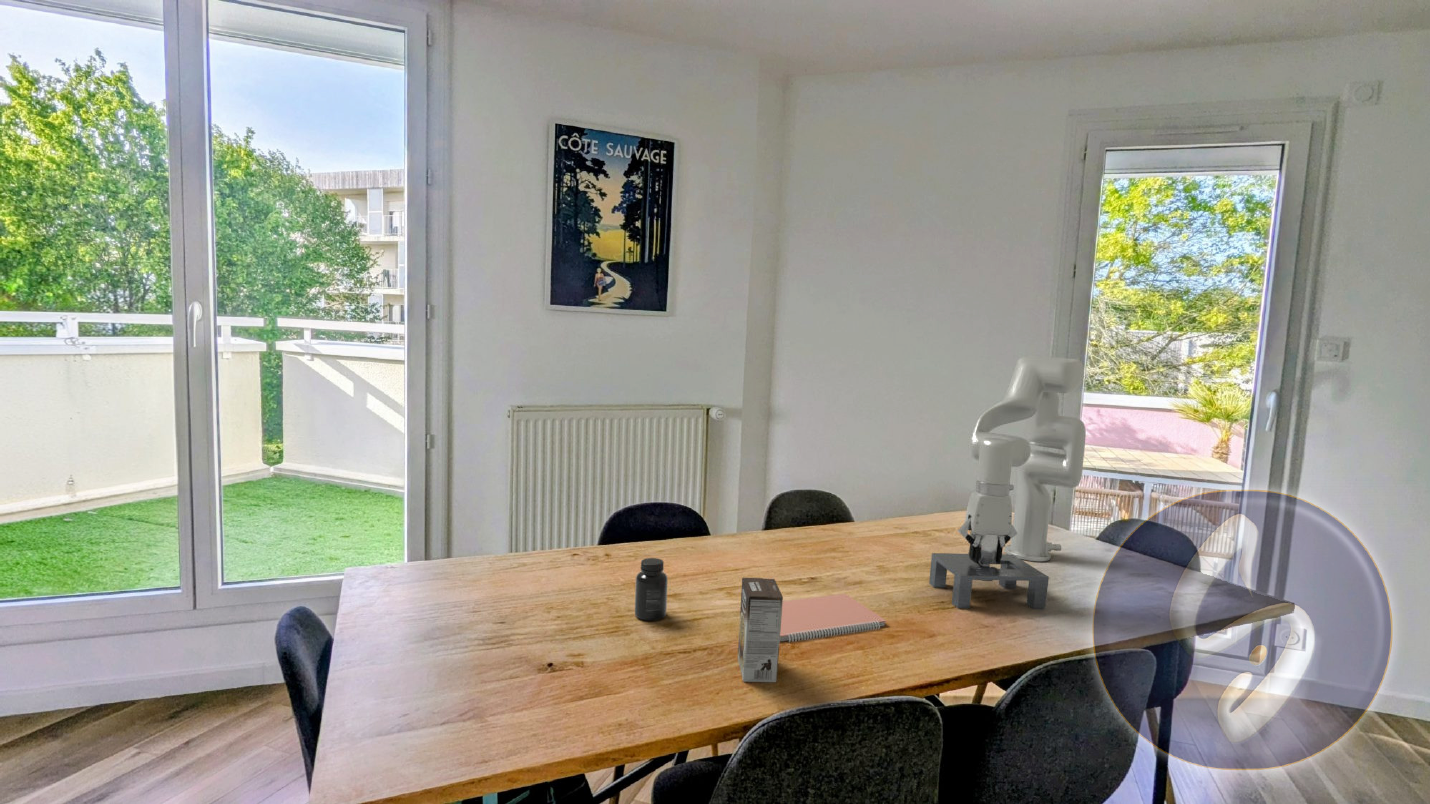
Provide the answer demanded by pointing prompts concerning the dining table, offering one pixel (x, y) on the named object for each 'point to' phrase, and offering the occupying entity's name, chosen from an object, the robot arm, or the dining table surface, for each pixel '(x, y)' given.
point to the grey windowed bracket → (987, 577)
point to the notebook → (825, 617)
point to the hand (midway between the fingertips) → (984, 560)
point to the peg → (988, 550)
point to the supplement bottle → (651, 590)
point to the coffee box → (759, 629)
